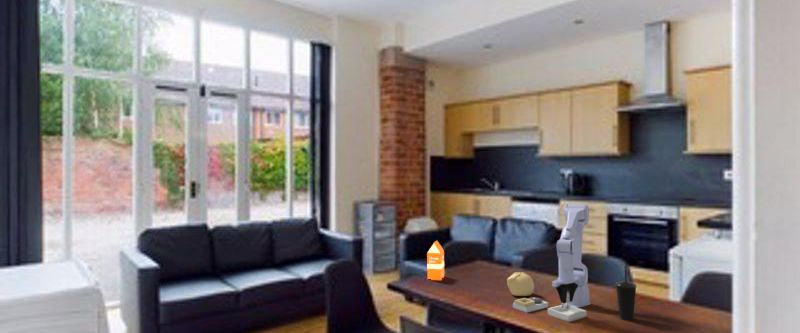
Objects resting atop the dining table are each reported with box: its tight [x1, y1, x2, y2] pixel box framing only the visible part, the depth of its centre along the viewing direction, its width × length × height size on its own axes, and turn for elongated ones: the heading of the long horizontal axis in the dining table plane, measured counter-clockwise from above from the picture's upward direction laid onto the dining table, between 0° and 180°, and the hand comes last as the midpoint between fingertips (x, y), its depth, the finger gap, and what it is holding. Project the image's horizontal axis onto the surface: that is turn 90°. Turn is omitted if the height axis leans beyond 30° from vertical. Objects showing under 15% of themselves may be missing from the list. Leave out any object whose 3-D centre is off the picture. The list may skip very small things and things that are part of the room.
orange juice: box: [426, 240, 445, 281], centre depth 257 cm, size 8×9×20 cm
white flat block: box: [512, 296, 549, 313], centre depth 203 cm, size 13×8×4 cm, turn 120°
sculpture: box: [506, 271, 535, 297], centre depth 222 cm, size 12×12×11 cm
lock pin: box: [561, 290, 570, 309], centre depth 191 cm, size 3×3×7 cm
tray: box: [547, 304, 587, 323], centre depth 191 cm, size 11×11×3 cm
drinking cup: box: [614, 267, 637, 321], centre depth 187 cm, size 8×8×20 cm
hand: (566, 301), depth 191 cm, fingers closed on lock pin, 3 cm apart
